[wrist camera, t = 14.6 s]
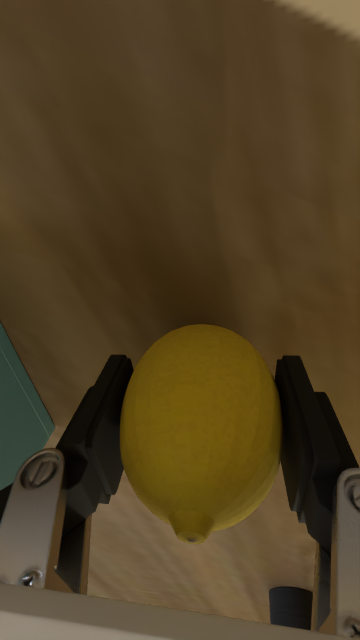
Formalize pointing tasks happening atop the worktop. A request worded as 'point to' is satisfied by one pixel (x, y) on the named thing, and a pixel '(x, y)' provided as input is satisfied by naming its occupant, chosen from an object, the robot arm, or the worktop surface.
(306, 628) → the drinking cup
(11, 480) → the compartment
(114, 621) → the robot arm
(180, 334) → the lemon
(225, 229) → the worktop surface
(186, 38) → the worktop surface
